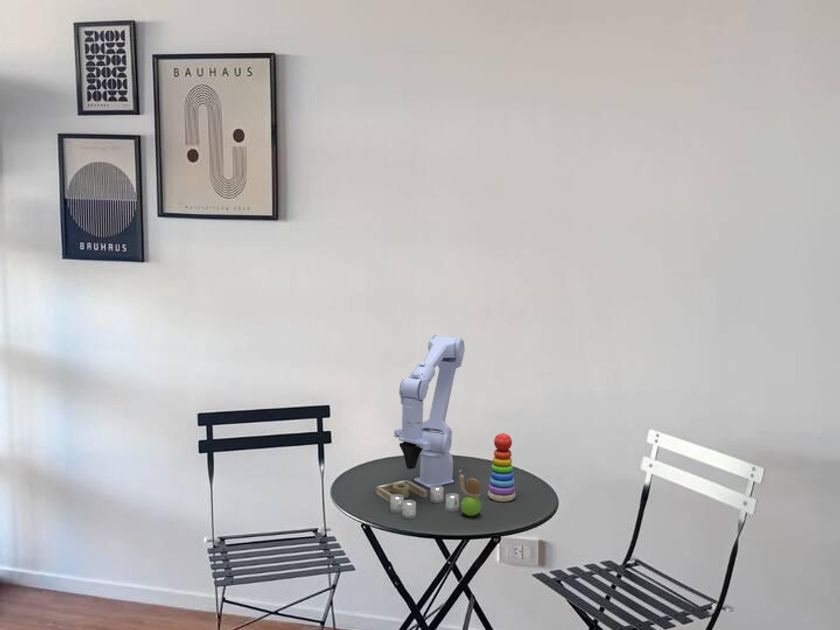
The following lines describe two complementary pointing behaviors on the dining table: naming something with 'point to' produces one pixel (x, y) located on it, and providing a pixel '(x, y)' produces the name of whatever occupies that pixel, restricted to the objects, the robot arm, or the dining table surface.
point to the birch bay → (385, 489)
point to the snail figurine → (470, 495)
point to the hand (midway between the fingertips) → (411, 468)
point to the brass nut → (401, 489)
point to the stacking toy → (502, 470)
